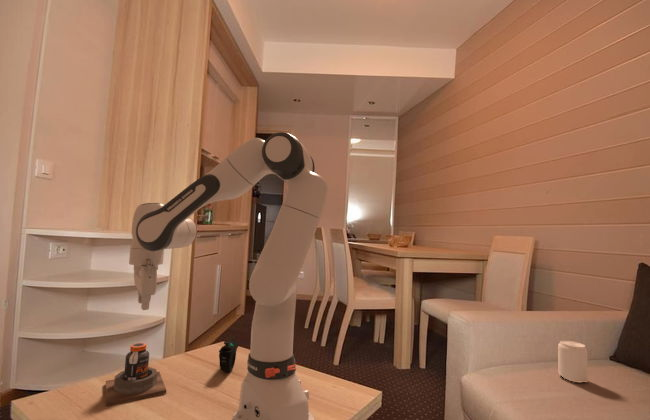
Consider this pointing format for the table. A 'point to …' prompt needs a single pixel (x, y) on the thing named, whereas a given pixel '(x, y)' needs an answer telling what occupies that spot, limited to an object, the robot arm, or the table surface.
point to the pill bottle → (136, 362)
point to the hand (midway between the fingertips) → (143, 306)
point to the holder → (134, 388)
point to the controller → (228, 355)
